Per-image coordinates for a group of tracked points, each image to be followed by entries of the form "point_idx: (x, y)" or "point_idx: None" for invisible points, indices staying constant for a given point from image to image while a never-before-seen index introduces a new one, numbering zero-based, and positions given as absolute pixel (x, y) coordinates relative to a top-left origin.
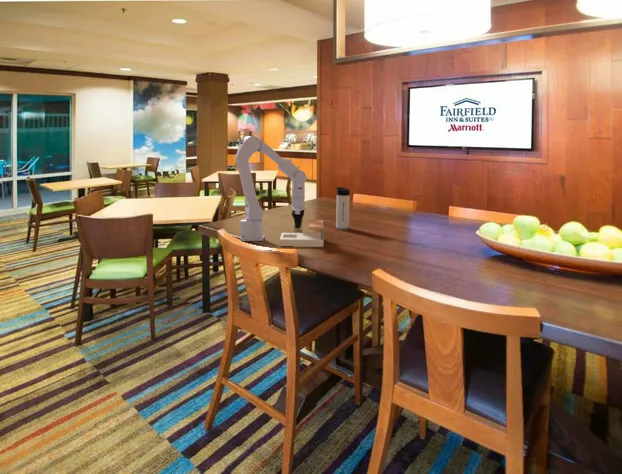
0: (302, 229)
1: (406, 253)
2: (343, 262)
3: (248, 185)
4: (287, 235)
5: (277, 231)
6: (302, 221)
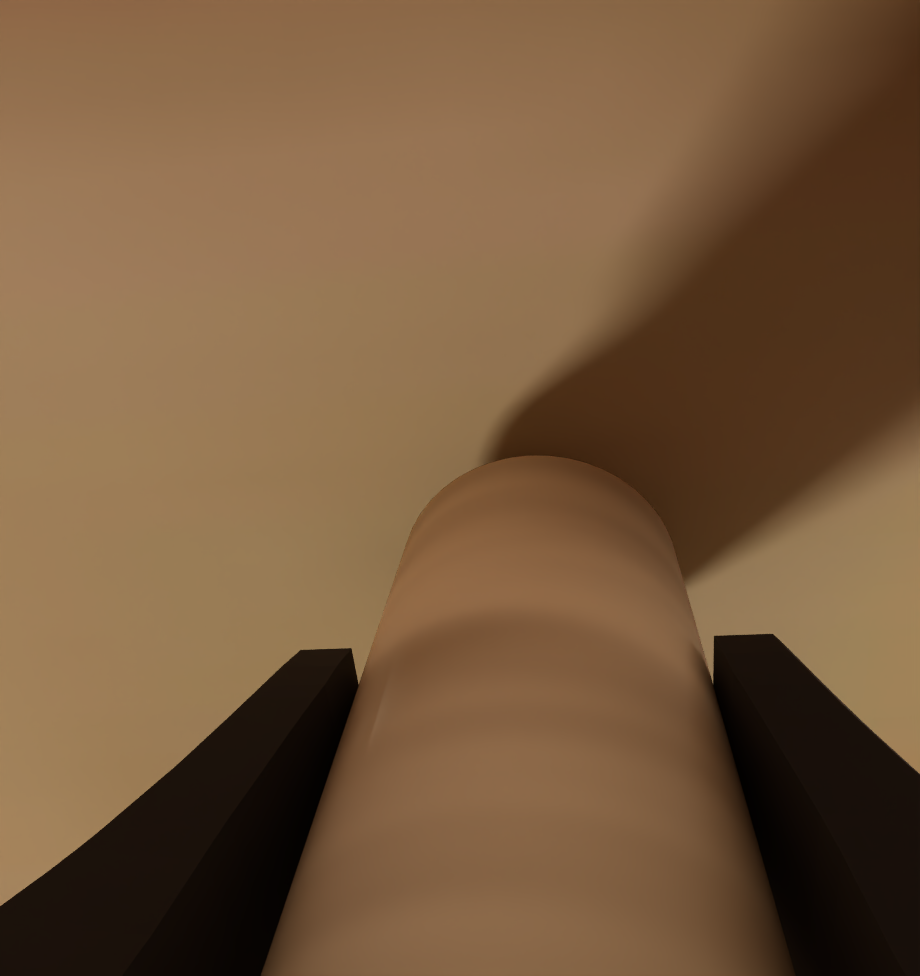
0: (523, 513)
1: None
2: None
3: None
4: None
5: None
6: (536, 731)
